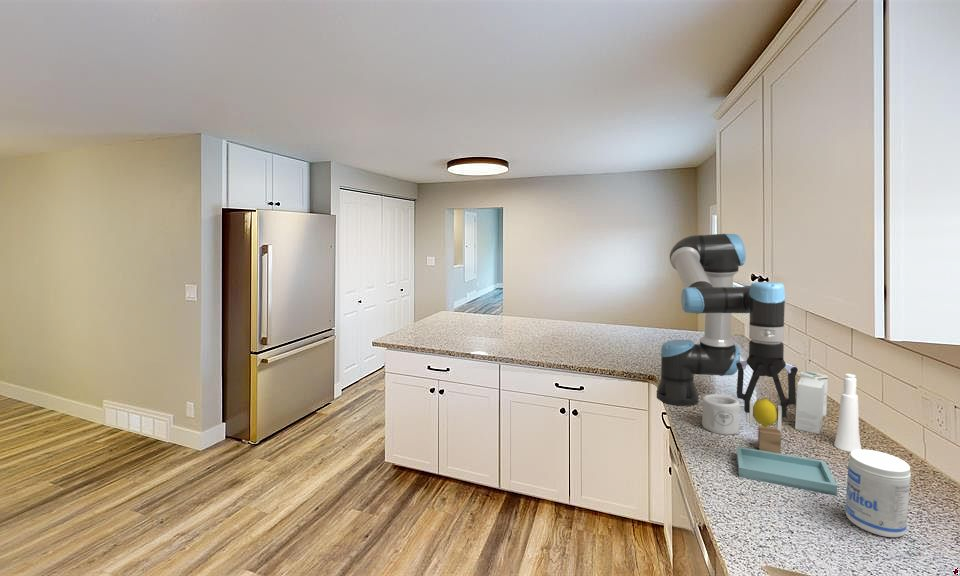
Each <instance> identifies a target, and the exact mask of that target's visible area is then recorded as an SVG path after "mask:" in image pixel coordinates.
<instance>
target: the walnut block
mask: <svg viewBox="0 0 960 576" xmlns="http://www.w3.org/2000/svg"><path fill="white" fill-rule="evenodd" d="M757 427H758V430H757V432H758V434H757V435H758V436H757V437H758V440H757V444H758V445H757V447H758V450H761V451H767V452H773V453H779V454H782V452H781V449H782V434H781V430H778V429H777V427H772V426H767V427H763V426H762V425H760V424H759V425H758V426H757Z"/></svg>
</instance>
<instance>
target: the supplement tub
mask: <svg viewBox="0 0 960 576" xmlns="http://www.w3.org/2000/svg"><path fill="white" fill-rule="evenodd" d="M911 475H912V473H911V466H910V465H909V463H908V462H906V461H904V459H901V458H899V457H897V456H894V455H892V454H889V453H886V452H881V451H878V450H873V449H865V448H864V449H862V448H861V449H858V450H853V451H851V452H849V458H848V464H847V480H846V496H845V497H846V498H845V515H846V517H847V518H848V520H850V522H851V523H852V524H854V525H856V526H857V527H859V528H860V529H862V530H864V531H867V532H869V533H871V534H875V535H877V536H880V537H884V538H885V537H887V538H900V537H902V536H904V535H905V534H906V532H907V526H908V525H907V524H908V523H907V522H908V512H909V502H910V501H909V500H910V490H911V477H912V476H911Z"/></svg>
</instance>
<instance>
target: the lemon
mask: <svg viewBox="0 0 960 576" xmlns="http://www.w3.org/2000/svg"><path fill="white" fill-rule="evenodd" d="M777 417H778V413H777V405H776V404H775V403H774V402H773V401H771V400H769V399H768V398H766V397H763V398H760V399H758V400H756V401H755V402H754V403H753V420H755V421H756V422H757V424H759V425H760V426H763V427H771V426H772V425H774V424H775V423H777Z"/></svg>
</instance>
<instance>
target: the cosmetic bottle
mask: <svg viewBox="0 0 960 576" xmlns="http://www.w3.org/2000/svg"><path fill="white" fill-rule="evenodd" d="M857 381H858V380H857V378H856V374H852V373H845V374H844V378H843V389H842V390H843V392H842V393H841V396H840V404H839V411H838V412H839V413H838V415H839V416H838V422H837V423H838V425H837V430H836V436H835V440H834V444H833V445H834V447H835V448H836V449H838V450H841V451H844V452H848V453H851V451H853V450H858V449H862V445H861V440H860V422H859V418H860V417H859V415H860V414H859V396H858V394H857Z"/></svg>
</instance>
